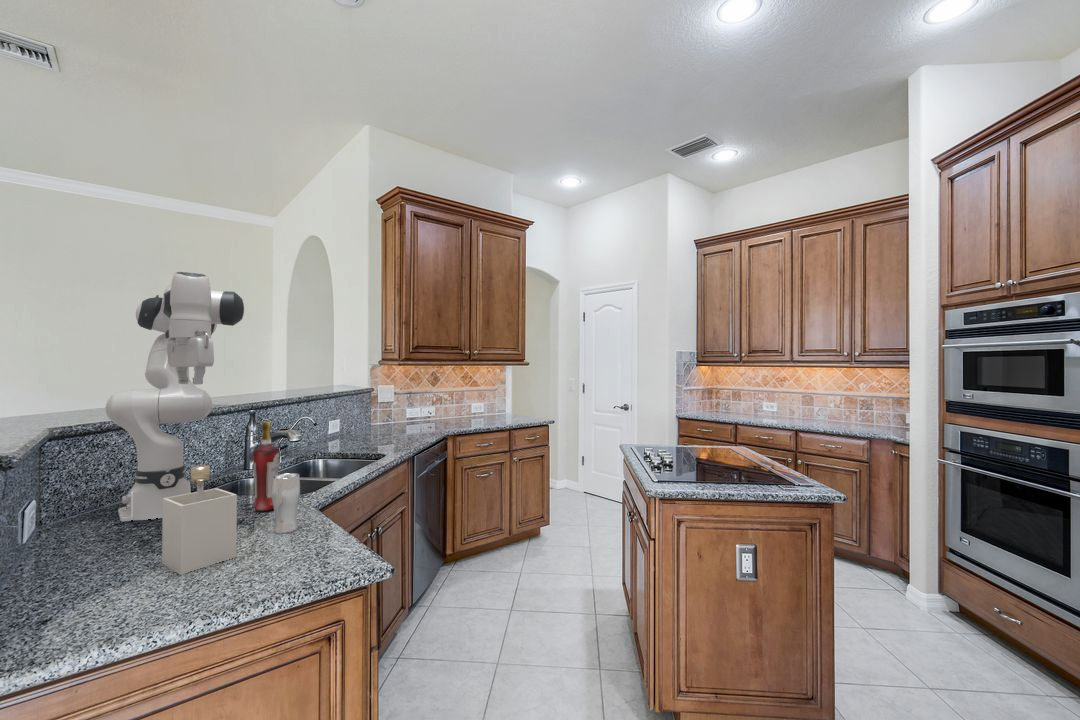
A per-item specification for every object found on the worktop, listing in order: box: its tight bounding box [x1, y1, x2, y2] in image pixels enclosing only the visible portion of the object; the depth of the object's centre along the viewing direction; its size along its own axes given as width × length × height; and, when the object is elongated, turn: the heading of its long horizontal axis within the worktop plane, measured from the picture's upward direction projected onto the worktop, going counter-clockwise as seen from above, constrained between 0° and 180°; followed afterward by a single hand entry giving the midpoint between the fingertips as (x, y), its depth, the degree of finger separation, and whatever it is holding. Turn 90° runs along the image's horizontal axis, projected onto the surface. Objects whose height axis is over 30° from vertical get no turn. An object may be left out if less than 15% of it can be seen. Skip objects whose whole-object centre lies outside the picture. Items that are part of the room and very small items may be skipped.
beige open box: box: [161, 487, 238, 576], centre depth 108 cm, size 11×11×15 cm
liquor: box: [252, 421, 280, 512], centre depth 147 cm, size 7×7×28 cm
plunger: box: [190, 464, 211, 502], centre depth 108 cm, size 9×9×19 cm
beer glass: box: [272, 472, 301, 534], centre depth 128 cm, size 7×7×15 cm
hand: (190, 384), depth 122 cm, fingers open, 8 cm apart
